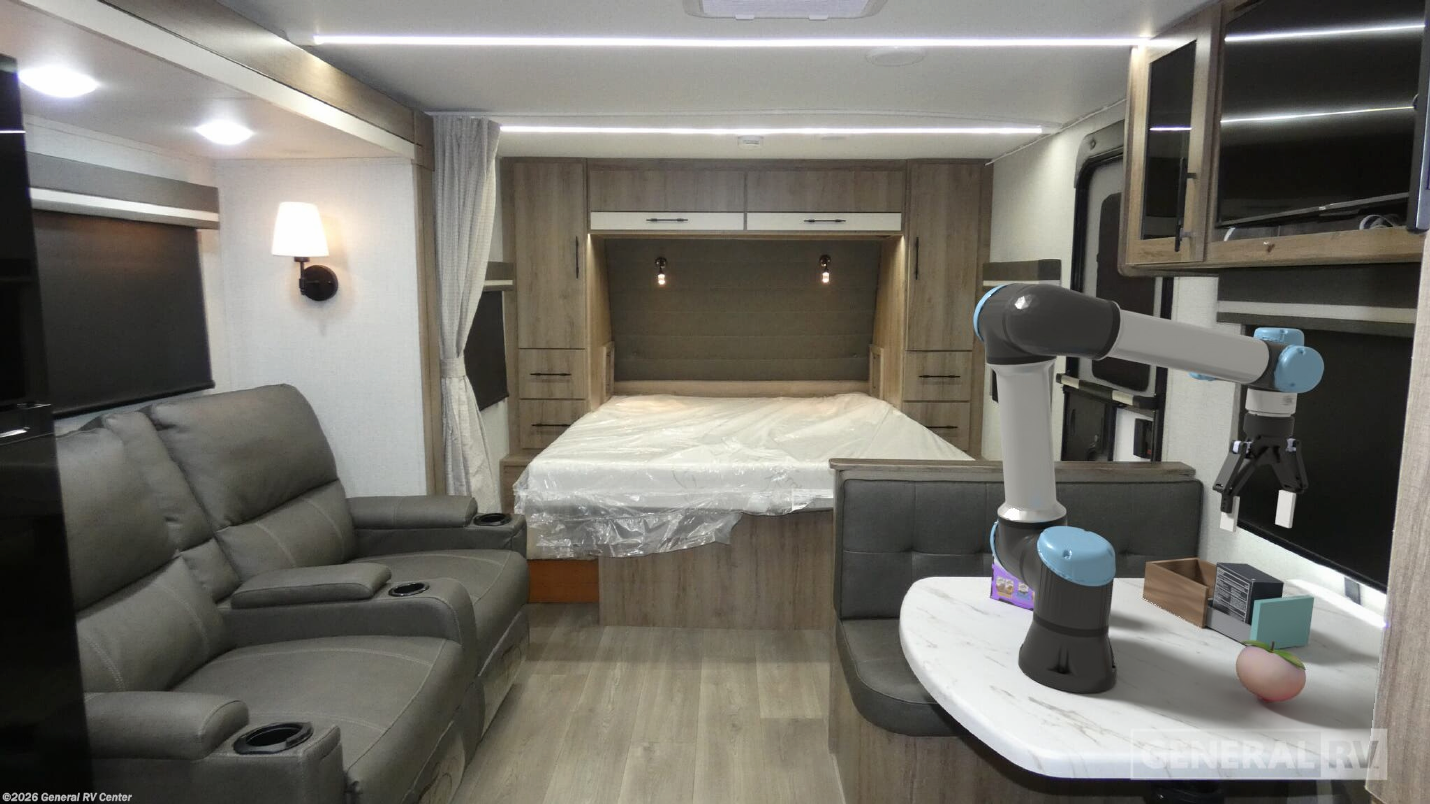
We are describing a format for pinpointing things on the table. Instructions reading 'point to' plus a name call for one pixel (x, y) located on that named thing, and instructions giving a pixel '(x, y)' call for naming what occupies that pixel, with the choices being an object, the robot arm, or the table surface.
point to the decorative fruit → (1270, 672)
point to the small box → (1242, 589)
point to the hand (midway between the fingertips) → (1255, 528)
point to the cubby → (1181, 587)
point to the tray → (1268, 622)
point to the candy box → (1009, 587)
